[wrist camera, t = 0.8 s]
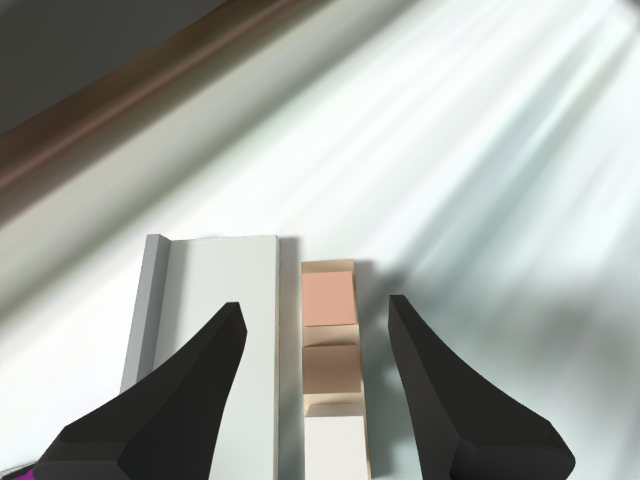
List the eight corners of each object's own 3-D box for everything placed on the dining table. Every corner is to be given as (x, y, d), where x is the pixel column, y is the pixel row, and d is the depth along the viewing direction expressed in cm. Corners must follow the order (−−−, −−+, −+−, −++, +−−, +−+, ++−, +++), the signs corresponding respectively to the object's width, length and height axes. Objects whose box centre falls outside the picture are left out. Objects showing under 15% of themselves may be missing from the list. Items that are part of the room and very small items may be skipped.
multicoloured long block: (368, 477, 23) (381, 535, 16) (308, 478, 23) (297, 535, 17) (351, 265, 29) (356, 244, 22) (304, 267, 29) (294, 248, 22)
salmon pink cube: (352, 324, 24) (355, 323, 21) (308, 327, 25) (302, 326, 21) (349, 280, 26) (351, 270, 22) (306, 282, 26) (301, 273, 22)
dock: (277, 528, 22) (265, 568, 18) (131, 529, 22) (89, 569, 19) (279, 240, 30) (271, 227, 26) (171, 247, 30) (147, 234, 26)
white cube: (363, 463, 21) (368, 489, 17) (311, 463, 21) (305, 490, 18) (359, 403, 23) (363, 415, 19) (310, 404, 23) (304, 417, 19)
